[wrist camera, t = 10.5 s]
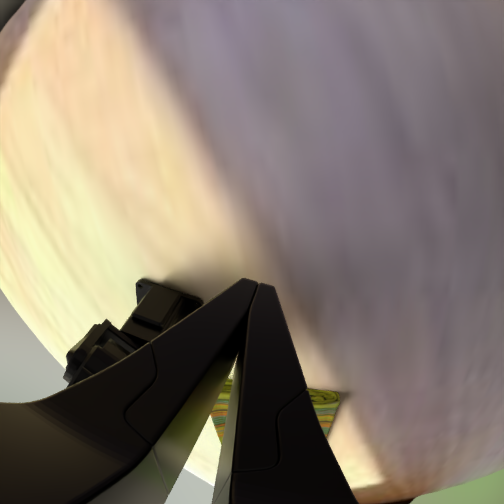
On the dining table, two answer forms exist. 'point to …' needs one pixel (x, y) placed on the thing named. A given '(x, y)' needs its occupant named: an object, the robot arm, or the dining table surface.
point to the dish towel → (321, 399)
